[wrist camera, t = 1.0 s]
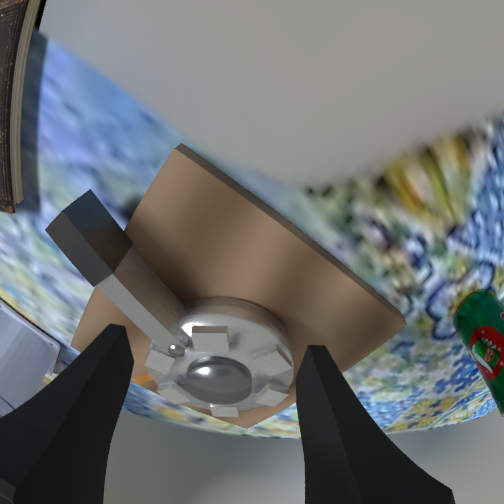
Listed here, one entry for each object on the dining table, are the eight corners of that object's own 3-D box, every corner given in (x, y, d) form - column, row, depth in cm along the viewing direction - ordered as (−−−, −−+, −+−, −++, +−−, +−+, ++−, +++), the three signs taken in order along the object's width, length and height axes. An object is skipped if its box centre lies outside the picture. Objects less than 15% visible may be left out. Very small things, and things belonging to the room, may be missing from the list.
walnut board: (76, 334, 23) (69, 347, 22) (181, 143, 15) (173, 149, 14) (247, 417, 29) (247, 430, 28) (400, 311, 21) (407, 326, 20)
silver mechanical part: (312, 361, 22) (318, 398, 19) (209, 397, 24) (205, 429, 21) (145, 142, 14) (116, 157, 11) (44, 237, 16) (15, 265, 13)
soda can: (494, 303, 22) (552, 392, 11) (457, 334, 23) (506, 430, 13) (486, 275, 20) (559, 374, 9) (444, 311, 22) (505, 421, 11)
